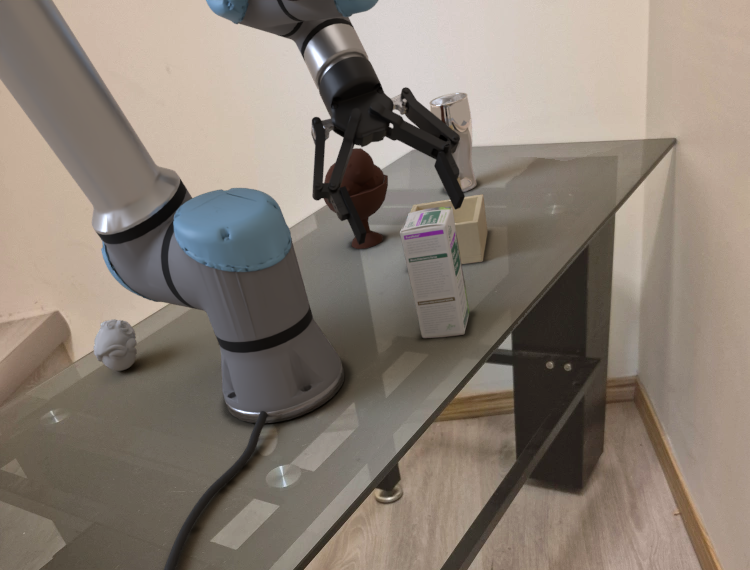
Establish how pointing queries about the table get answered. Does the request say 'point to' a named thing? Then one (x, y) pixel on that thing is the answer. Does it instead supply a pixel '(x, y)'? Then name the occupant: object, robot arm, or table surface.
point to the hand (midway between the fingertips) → (412, 221)
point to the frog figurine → (115, 344)
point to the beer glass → (458, 118)
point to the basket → (466, 226)
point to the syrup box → (435, 272)
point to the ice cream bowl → (363, 191)
